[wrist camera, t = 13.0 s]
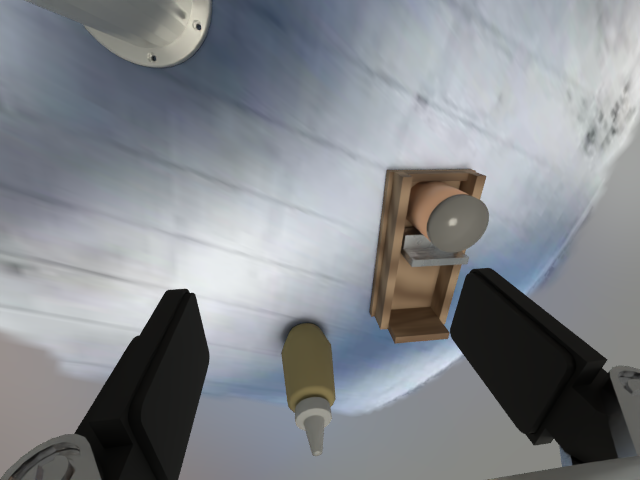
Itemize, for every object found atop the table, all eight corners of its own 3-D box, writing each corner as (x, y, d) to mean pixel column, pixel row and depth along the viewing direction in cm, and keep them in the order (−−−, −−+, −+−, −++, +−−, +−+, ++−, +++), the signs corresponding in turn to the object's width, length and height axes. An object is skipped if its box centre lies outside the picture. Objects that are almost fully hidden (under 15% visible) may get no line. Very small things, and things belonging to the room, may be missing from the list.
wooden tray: (386, 170, 36) (408, 183, 30) (471, 169, 38) (508, 181, 32) (369, 312, 47) (383, 344, 41) (436, 307, 48) (458, 337, 42)
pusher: (398, 228, 39) (415, 246, 34) (449, 226, 40) (473, 243, 35) (395, 246, 40) (411, 267, 35) (444, 244, 41) (467, 264, 36)
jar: (406, 179, 36) (437, 197, 29) (454, 178, 37) (496, 195, 30) (399, 226, 39) (425, 253, 32) (444, 225, 40) (479, 251, 33)
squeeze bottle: (294, 311, 45) (301, 426, 29) (336, 325, 47) (365, 438, 31) (273, 345, 48) (269, 467, 31) (314, 357, 50) (330, 476, 34)
